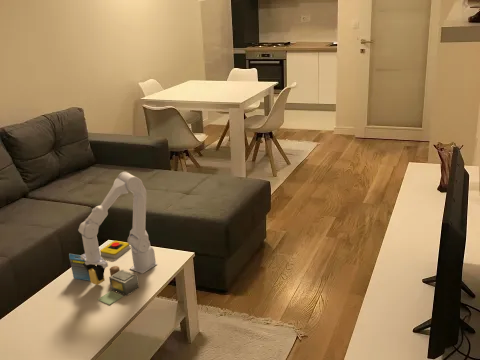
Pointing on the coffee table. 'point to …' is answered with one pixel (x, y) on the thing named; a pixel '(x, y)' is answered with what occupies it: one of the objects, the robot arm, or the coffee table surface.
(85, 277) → the label tape box
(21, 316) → the coffee table surface
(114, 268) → the walnut cylinder
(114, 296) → the pad
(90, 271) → the ochre block
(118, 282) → the box
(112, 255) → the emergency button
